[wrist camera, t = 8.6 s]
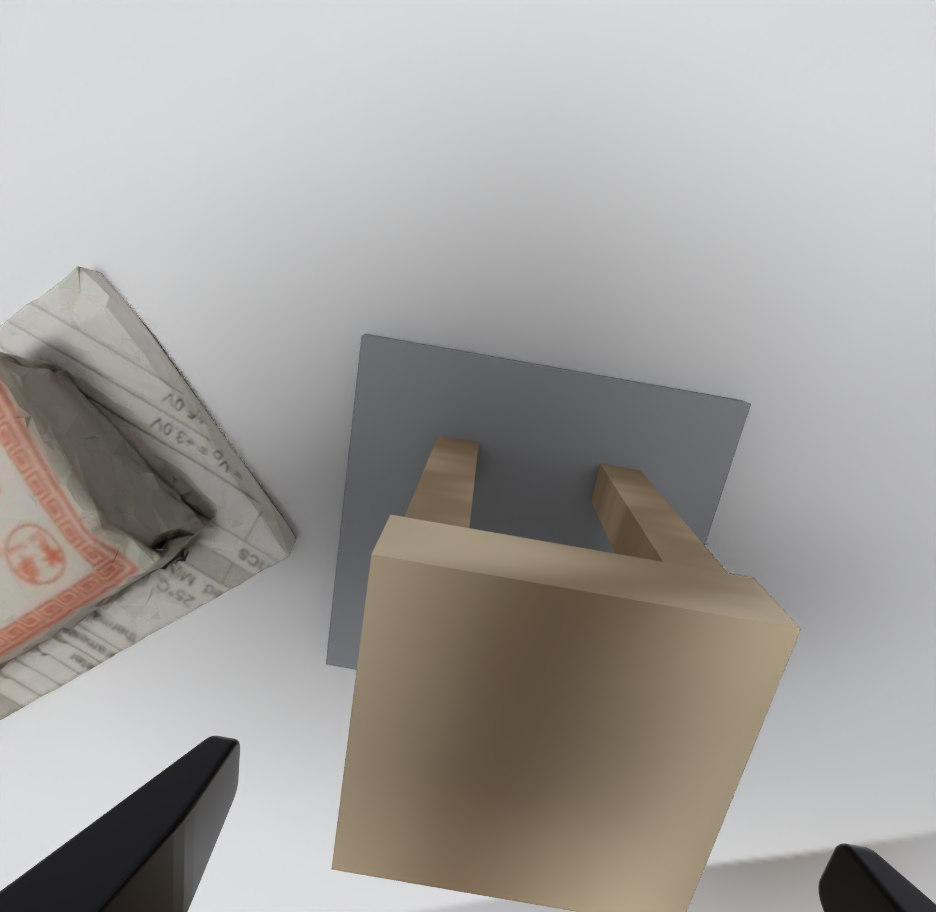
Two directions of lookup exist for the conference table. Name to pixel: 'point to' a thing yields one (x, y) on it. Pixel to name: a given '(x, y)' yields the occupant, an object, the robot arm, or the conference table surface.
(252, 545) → the packaged product
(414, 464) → the mat
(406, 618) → the stool
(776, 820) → the conference table surface
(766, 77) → the conference table surface
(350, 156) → the conference table surface
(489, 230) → the conference table surface
